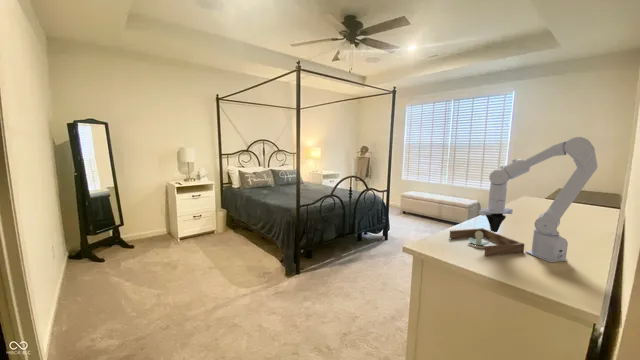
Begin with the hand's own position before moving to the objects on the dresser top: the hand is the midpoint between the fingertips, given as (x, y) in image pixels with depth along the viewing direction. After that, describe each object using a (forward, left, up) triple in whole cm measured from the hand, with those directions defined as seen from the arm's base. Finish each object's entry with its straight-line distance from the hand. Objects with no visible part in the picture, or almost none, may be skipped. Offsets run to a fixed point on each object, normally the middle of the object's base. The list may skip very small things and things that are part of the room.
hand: (493, 231), depth 113 cm
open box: (0, +4, -5) cm, 7 cm away
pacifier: (0, +8, -6) cm, 10 cm away
